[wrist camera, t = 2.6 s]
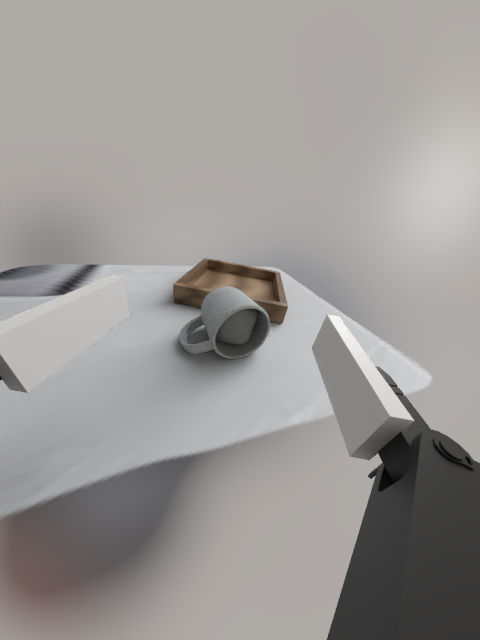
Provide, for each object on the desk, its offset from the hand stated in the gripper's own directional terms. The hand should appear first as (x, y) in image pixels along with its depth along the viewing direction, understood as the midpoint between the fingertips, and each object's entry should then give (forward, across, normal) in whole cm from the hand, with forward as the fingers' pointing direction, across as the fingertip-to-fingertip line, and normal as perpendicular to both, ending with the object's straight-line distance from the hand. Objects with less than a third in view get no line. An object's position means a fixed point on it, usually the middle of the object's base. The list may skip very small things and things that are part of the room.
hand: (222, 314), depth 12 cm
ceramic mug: (+10, -1, -11) cm, 15 cm away
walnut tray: (+28, -2, -10) cm, 30 cm away
